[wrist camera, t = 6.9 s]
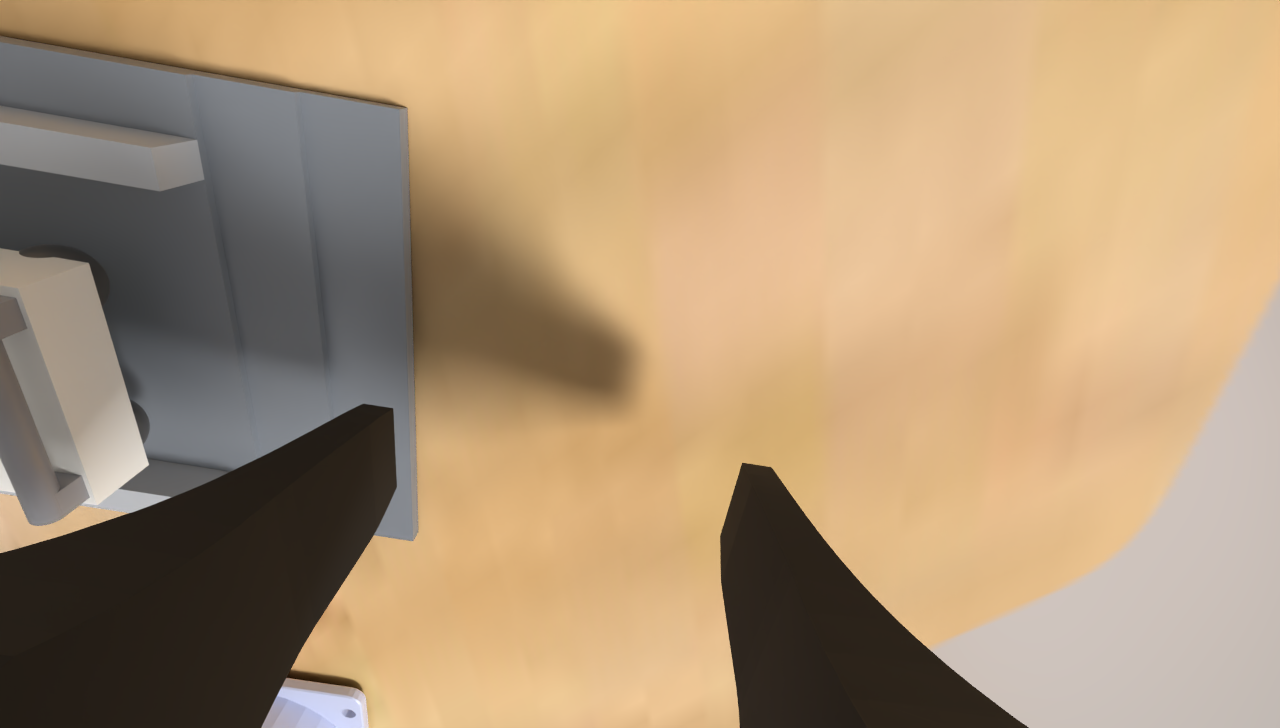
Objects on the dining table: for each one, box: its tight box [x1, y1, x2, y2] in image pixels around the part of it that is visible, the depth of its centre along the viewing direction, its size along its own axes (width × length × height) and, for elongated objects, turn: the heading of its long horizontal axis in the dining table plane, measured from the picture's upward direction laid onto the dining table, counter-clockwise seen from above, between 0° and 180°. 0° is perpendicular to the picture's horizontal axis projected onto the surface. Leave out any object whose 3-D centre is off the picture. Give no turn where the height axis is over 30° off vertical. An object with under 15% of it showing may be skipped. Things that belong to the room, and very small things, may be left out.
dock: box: [0, 36, 418, 541], centre depth 14 cm, size 12×16×2 cm
